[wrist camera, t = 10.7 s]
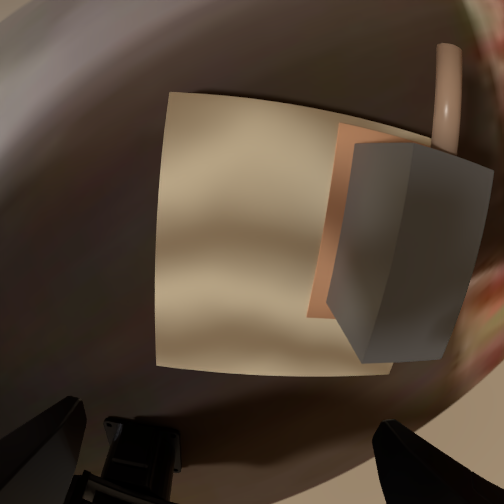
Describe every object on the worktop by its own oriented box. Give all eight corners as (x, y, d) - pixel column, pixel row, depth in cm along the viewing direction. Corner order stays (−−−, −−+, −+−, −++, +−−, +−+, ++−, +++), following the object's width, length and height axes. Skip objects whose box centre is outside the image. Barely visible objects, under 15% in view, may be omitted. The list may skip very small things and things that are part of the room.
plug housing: (392, 305, 19) (441, 359, 13) (325, 302, 18) (361, 363, 12) (431, 81, 15) (498, 64, 9) (363, 57, 14) (420, 22, 8)
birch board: (381, 362, 22) (389, 374, 20) (160, 352, 20) (156, 366, 19) (434, 143, 17) (449, 144, 16) (174, 96, 16) (169, 91, 14)
